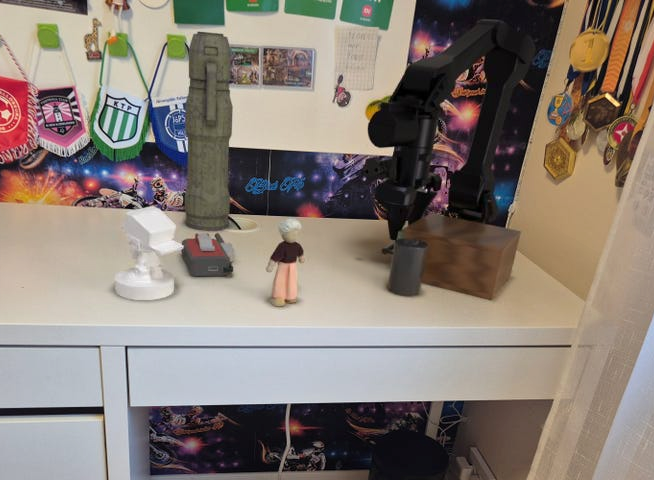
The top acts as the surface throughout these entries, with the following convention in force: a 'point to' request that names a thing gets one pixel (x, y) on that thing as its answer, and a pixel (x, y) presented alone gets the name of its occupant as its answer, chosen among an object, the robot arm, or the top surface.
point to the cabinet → (465, 254)
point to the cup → (407, 267)
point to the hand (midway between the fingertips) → (402, 234)
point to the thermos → (208, 132)
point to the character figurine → (147, 255)
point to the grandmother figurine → (286, 263)
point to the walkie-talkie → (208, 255)
